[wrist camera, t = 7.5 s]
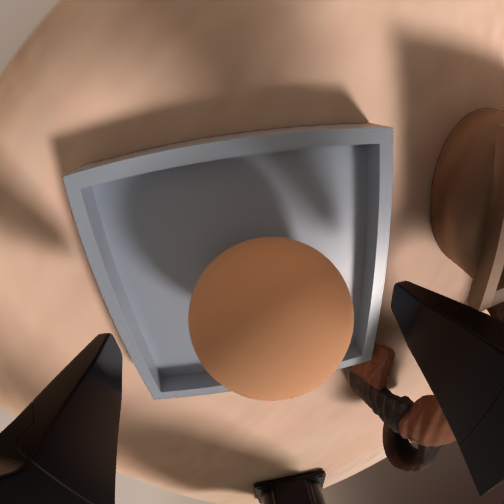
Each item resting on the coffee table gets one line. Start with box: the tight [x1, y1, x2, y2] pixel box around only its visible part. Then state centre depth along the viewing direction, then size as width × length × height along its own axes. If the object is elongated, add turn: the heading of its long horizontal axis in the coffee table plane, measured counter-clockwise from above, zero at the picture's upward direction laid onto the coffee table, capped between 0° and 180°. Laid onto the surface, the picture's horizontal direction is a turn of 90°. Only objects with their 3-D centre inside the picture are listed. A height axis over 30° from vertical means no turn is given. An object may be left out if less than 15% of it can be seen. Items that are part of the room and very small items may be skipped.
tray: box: [63, 123, 393, 399], centre depth 11 cm, size 10×10×2 cm
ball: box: [188, 237, 354, 401], centre depth 9 cm, size 5×5×5 cm
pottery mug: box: [350, 301, 504, 472], centre depth 14 cm, size 12×10×8 cm
